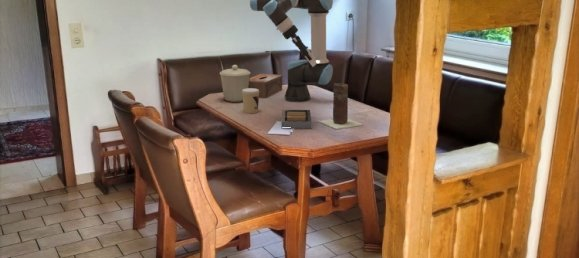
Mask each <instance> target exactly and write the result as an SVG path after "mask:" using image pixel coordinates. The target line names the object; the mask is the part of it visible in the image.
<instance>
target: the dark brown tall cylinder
mask: <svg viewBox="0 0 579 258" xmlns="http://www.w3.org/2000/svg"><path fill="white" fill-rule="evenodd" d="M332 99H333V101H332V102H333V103H332V119H333V122H334V123H335V124H342V123H346V122H347V121H348V119H349V118H348V117H349V115H348V113H349V111H348V108H349V107H348V103H349V102H348V101H349V100H348V99H349V85H348V84H347V83H343V82H341V83H340V82H334V83H333V98H332Z"/></svg>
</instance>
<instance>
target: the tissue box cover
mask: <svg viewBox="0 0 579 258" xmlns="http://www.w3.org/2000/svg"><path fill="white" fill-rule="evenodd" d="M248 88H255V89H258V90H259V99H267V98H270V97H271V96H274V95H275V94H277V93H279V91H280V92H281V90H282V91H283V75H282V74H274V73H273V74H271V73H260V74H257V75H255V76H251V77H249V86H248Z"/></svg>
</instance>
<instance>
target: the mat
mask: <svg viewBox="0 0 579 258" xmlns="http://www.w3.org/2000/svg"><path fill="white" fill-rule="evenodd" d="M318 123H319V124H322V125H324V126H327V127H329V128H331V129H332V130H336V131H337V130H338V131H339V130H344V129H349V128H356V127H362V126H363V125H364V124H363V123H360V122H359V121H355V120H353V119H351V118H348V121H347V122H346V123H342V124H335V123H334V122H333V118H330V119H324V120H318Z"/></svg>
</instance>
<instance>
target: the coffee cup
mask: <svg viewBox="0 0 579 258" xmlns="http://www.w3.org/2000/svg"><path fill="white" fill-rule="evenodd" d="M242 96H243V101H242V107H243V112H244V113H245V114H255V113H258V112H259V104H260V103H259V99H260V98H259V90H258V89H255V88H247V89H243V90H242Z"/></svg>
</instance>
